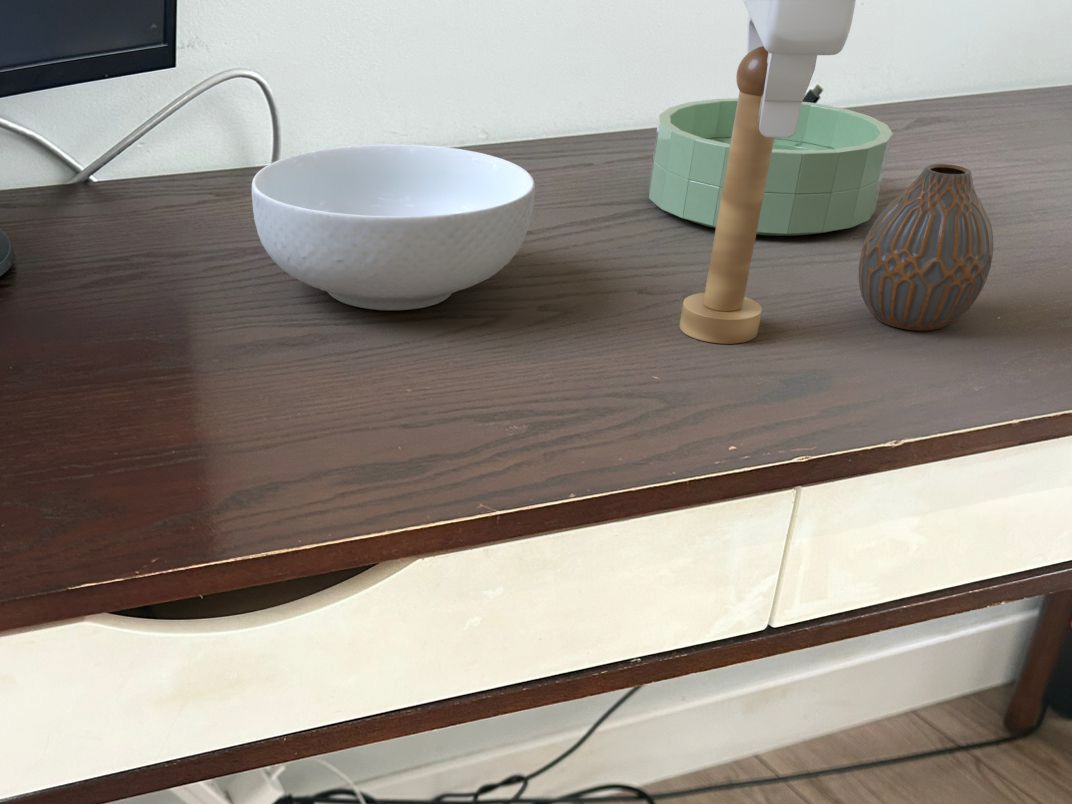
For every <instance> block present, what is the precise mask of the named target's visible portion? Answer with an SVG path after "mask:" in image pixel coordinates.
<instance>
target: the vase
mask: <svg viewBox="0 0 1072 804" xmlns="http://www.w3.org/2000/svg"><path fill="white" fill-rule="evenodd" d="M993 257H994V232H993V227H992V224H991V221H990V218H989V215H988V213H987V211H986V209H985V208H984V206H983V203H982V202H981V200H980V198H979V196H978V194H977V192H976V189H975V186H974V181H973V174H972V171H971V170H970V169H969V168H966V167H965V166H962V165H961V166H960V165H956V164H948V163H933V164H929V165H927V166H925V167H924V168H923V169H922V170H921V172H920V174H919V175H918V177H917V178H916V179H915V180H914V181H913V183H912V184H910V185H909V186H908V187H907V188H906V189H905V190H903V191H902V192H901V193H900V194H899V195H897V196H896V197H895V198H894V199H892V200H891V202H890V203H889V204H887V205H886V206H885V207H884V208H883V210H881V212H880V213H879V214H878V215H877V217H876V219H875V220H874V222H873V224H872V225H871V227H870V229H869V230H868V232H867V235H866V237H865V239H864V242H863V244H862V249H861V252H860V257H859V263H858V285H859V291H860V295H861V298H862V300H863V302H864V304H865V306H866V308H867V309H868V310H869V312H870V313H871V314H872V316H873V317H874V318H875V319H876V320H878V321H879V322H881V323H882V324H885V325H887V326H889V327H890V326H891V327H893V328H897V329H902V330H908V331H916V332H917V331H921V332H922V331H925V332H926V331H935V330H939V329H942V328H944V327H946V326H948V325H950V324H951V323H953V322H955V321H956V320H958V319H959V318H960V317H962V316H963V315H964V314H965V313H966V312H968V310H969V309H970V308H971V307H972V306H973V304H974V303H975V302H976V300H977V298H978V297H979V295H980V294H981V292H982V290H983V288H984V286H985V284H986V281H987V279H988V276H989V273H990V271H991V266H992V262H993Z"/></svg>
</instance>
